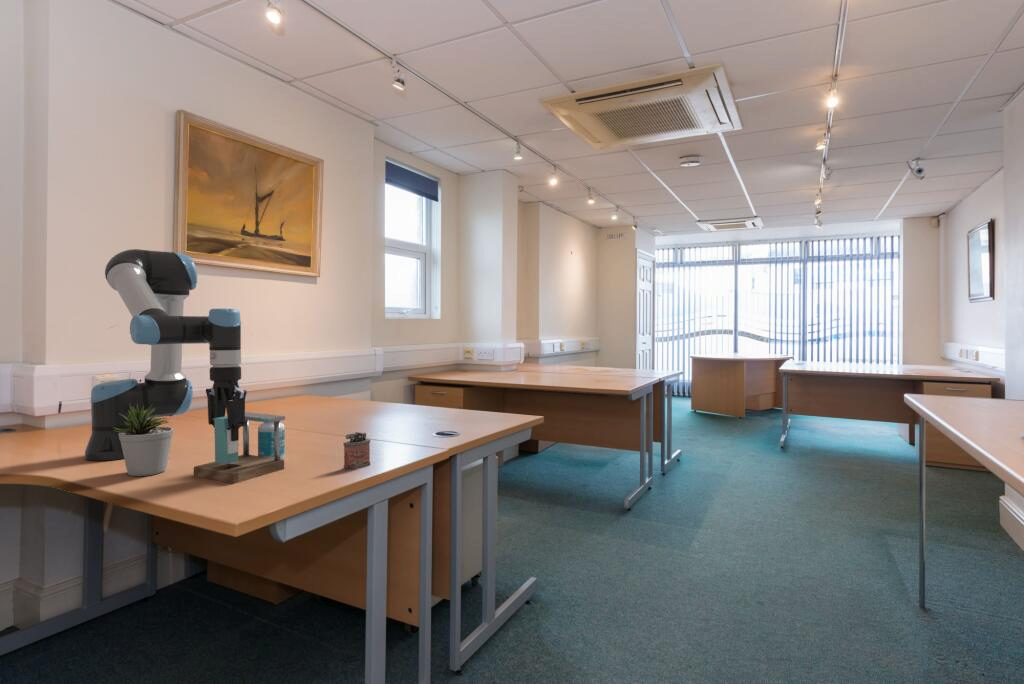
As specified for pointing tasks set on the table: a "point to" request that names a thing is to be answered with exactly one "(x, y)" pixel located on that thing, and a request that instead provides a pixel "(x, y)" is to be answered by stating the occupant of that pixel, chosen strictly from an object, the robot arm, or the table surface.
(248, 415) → the grey metal bridge
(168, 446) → the potted plant
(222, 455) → the peg
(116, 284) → the robot arm
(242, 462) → the socket plate
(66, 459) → the table surface
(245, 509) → the table surface
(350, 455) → the lighter
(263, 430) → the pill bottle
